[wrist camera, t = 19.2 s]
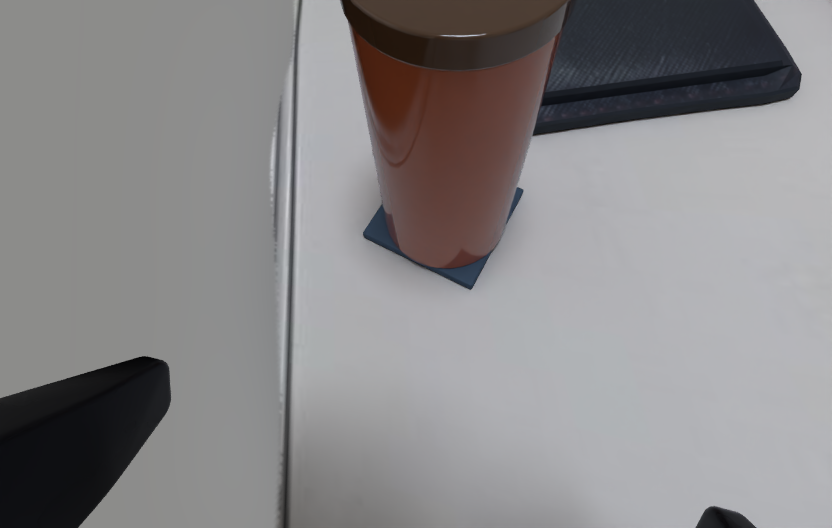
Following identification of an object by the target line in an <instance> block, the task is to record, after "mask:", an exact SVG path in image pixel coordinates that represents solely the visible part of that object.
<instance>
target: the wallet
mask: <svg viewBox="0 0 832 528" xmlns="http://www.w3.org/2000/svg"><path fill="white" fill-rule="evenodd" d="M801 75H802V74H801V72H800V71H799V69H798V67H797V65H796V64H795V62H794V60H793V59H792V57H791V55H790V53H789V52H788V50H787V49H786V47H785V46H784V44H783V43H782V41H781V40H780V38H779V37H778V35H777V34H776V32H775V31H774V29H773V28H772V26H771V25H770V23H769V22H768V20H767V19H766V18H765V16H764V15H763V13H762V12H761V10H760V9H759V7H758V6H757V4H756V3H755V1H754V0H577V2H576V5H575V8H574V11H573V13H572V15H571V17H570V18H569V20H568V22H567V23H566V25H565V28H564V31H563V35H562V38H561V41H560V45H559V48H558V51H557V55H556V58H555V61H554V65H553V68H552V71H551V75H550V78H549V81H548V85H547V88H546V91H545V95H544V98H543V102H542V105H541V108H540V112H539V115H538V118H537V122H536V125H535V128H534V132H533V134H538V133H545V132H551V131H558V130H565V129H571V128H578V127H585V126H591V125H598V124H605V123H611V122H618V121H624V120H631V119H639V118H647V117H655V116H663V115H671V114H679V113H687V112H695V111H703V110H711V109H719V108H728V107H737V106H746V105H755V104H764V103H769V102H773V101H777V100H782V99H786V98H790V97H792V96H793V95H794V94H795V93H796V92H797V91H798V90H799V88H800V82H801Z"/></svg>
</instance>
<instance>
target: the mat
mask: <svg viewBox="0 0 832 528" xmlns="http://www.w3.org/2000/svg"><path fill="white" fill-rule="evenodd" d="M522 193H523V189H520V188H518V187H517V189H516V192H515V195H514V199H513V202H512V205H511V209H510V212H509V215H508V219H507V222H508V220H509V218H510V216H511V215H512V213H513V211H514V209H515V207H516V205H517V203H518V201H519V200H520V198H521V196H522ZM507 222H506V224H507ZM505 226H506V225H505ZM363 235H364V237H365V238H367V239H369V240H371V241H373V242H375V243H377V244H379V245H381V246H383V247H385V248H387V249H389V250H391V251H393V252H395V253H397V254H399V255H401V256H403V257H405V258H407V259H409V260H411V261H413V262H416V263H418V264H420V265H422V266H424V267H426V268H428V269H430V270H432V271H434V272H436V273H438V274H440V275H442V276H444V277H446V278H448V279H450V280H452V281H454V282H456V283H458V284H460V285H462V286H464V287H466V288H469V289H472V287H473V286H474V284H475V282H476V280H477V278H478V276H479V274H480V272H481V271H482V269H483V267H484V265H485V263H486V261H487V259H488V257H489V256H490V254H491V252H492V250H493V249H492V250H491V252H489V253H488V254H487V255H486V256H484V257H483V258H481V259H480V260H478V261H476V262H474V263H472V264H469V265H466V266H462V267H457V268H436V267H430V266H427V265H424V264H421V263H419V262H417V261H414V260H413V259H411V258H410V257H408V256H407V255H405V254H404V253H403V252H402V251H401V250H400V249H399V248H398V247H397V246H396V244H395V243H394V241H393V240H392V238H391V236H390V234H389V232H388V229H387V225H386V219H385V214H384V209H383V204H382V205H381V207H380V208H379V210H378V211H377V213H376V214H375V216H374V217H373V219H372V220H371V222H370V223H369V225H368V226H367V228H366V229H365V231H364V232H363Z"/></svg>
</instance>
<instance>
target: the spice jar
mask: <svg viewBox="0 0 832 528" xmlns="http://www.w3.org/2000/svg"><path fill="white" fill-rule="evenodd" d="M340 2H341V6H342V9H343V11H344V14H345V16H346V18H347V20H348V23H349V29H350V34H351V39H352V45H353V50H354V55H355V61H356V66H357V71H358V76H359V82H360V87H361V92H362V98H363V103H364V108H365V113H366V119H367V124H368V129H369V135H370V140H371V145H372V151H373V156H374V161H375V166H376V172H377V177H378V182H379V188H380V193H381V198H382V204H383V209H384V214H385V219H386V225H387V229H388V232H389V234H390V236H391V238H392V240H393V241H394V243H395V244H396V246H397V247H398V248H399V249H400V250H401V251H402V252H403V253H404V254H405V255H407V256H408V257H410V258H411V259H413V260H414V261H417V262H419V263H421V264H424V265H427V266H430V267H436V268H457V267H462V266H466V265H469V264H472V263H474V262H476V261H478V260H480V259H481V258H483V257H484V256H486V255H487V254H488V253H489V252H491V250H492V249H493V248H494V247H495V246H496V245H497V243H498V242H499V240H500V238H501V236H502V234H503V232H504V229H505V225H506V222H507V219H508V215H509V212H510V209H511V205H512V202H513V199H514V195H515V192H516V189H517V185H518V182H519V179H520V175H521V172H522V169H523V165H524V162H525V158H526V155H527V152H528V148H529V145H530V142H531V138H532V135H533V132H534V128H535V125H536V122H537V118H538V115H539V112H540V108H541V105H542V102H543V98H544V95H545V91H546V88H547V85H548V81H549V78H550V75H551V71H552V68H553V65H554V61H555V58H556V55H557V51H558V48H559V45H560V41H561V38H562V35H563V31H564V28H565V25H566V23H567V22H568V20H569V18H570V17H571V15H572V13H573V11H574V8H575V5H576V2H577V0H340Z"/></svg>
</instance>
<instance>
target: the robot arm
mask: <svg viewBox="0 0 832 528" xmlns="http://www.w3.org/2000/svg"><path fill="white" fill-rule="evenodd" d="M170 402H171V390H170V375H169V367H168V365H167V363H166V362H164V361H163V360H159V359H155V358H151V357H146V356H142V357H138V358H135V359H132V360H128V361H125V362H121V363H118V364H115V365H111V366H108V367H104V368H101V369H97V370H94V371H91V372H87V373H84V374H81V375H77V376H74V377H71V378H67V379H64V380H61V381H57V382H54V383H50V384H47V385H43V386H40V387H37V388H33V389H30V390H26V391H23V392H20V393H16V394H13V395H10V396H6V397H3V398H0V528H78V527H79V526H80V525H81V524H82V523H83V521H84V520H85V519H86V518H87V517H88V516H89V514H90V513H91V512H92V511H93V510H94V509H95V508H96V506H97V505H98V504H99V503H100V502H101V500H102V499H103V498H104V497H105V496H106V494H107V493H108V492H109V490H110V489H111V488H112V487H113V486H114V484H115V483H116V482H117V480H118V479H119V478H120V476H121V475H122V474H123V472H124V471H125V469H126V468H127V467H128V465H129V464H130V463H131V461H132V460H133V458H134V457H135V456H136V454H137V453H138V452H139V450H140V449H141V447H142V446H143V445H144V443H145V442H146V440H147V439H148V437H149V436H150V435H151V434H152V432H153V431H154V429H155V428H156V427H157V425H158V424H159V422H160V421H161V420H162V418H163V417H164V416H165V414H166V412H167V411H168V408H169V406H170ZM696 528H756V527H755V526H754V525H753V524H752V523H751V522H750V521H749V520H748V519H747V518H745V517H744V516H743V515H742V514H740V513H738V512H735V511H731V510H727V509H723V508H720V507H716V506H711V507H709V508H707V509H706V510H705V511H704V513H703V515H702V517H701V519H700V520H699V522H698V524H697V526H696Z"/></svg>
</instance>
